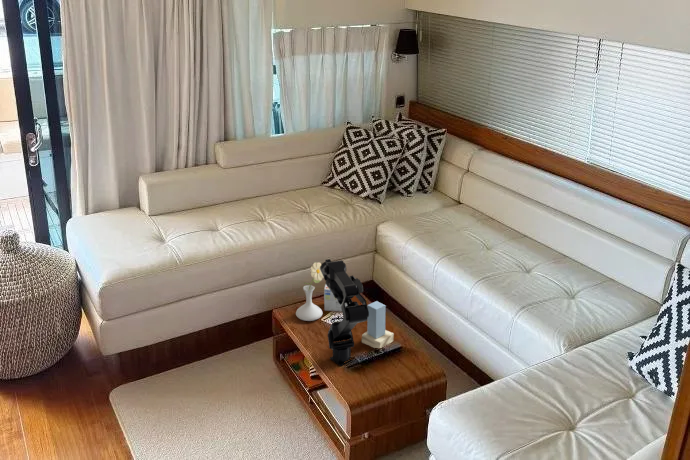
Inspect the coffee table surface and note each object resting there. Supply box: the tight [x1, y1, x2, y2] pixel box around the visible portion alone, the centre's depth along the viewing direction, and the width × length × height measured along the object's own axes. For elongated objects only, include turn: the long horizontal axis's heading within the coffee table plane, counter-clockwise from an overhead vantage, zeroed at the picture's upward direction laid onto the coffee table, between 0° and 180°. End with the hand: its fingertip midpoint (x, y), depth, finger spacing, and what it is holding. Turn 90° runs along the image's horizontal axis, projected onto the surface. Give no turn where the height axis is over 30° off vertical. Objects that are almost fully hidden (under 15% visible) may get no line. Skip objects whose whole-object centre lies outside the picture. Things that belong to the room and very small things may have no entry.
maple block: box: [361, 329, 395, 349], centre depth 271 cm, size 9×9×4 cm
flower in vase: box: [295, 262, 324, 322], centre depth 285 cm, size 13×11×25 cm
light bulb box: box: [323, 284, 347, 312], centre depth 294 cm, size 11×7×11 cm, turn 84°
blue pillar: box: [366, 300, 387, 339], centre depth 267 cm, size 5×5×13 cm
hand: (354, 310), depth 268 cm, fingers open, 9 cm apart
